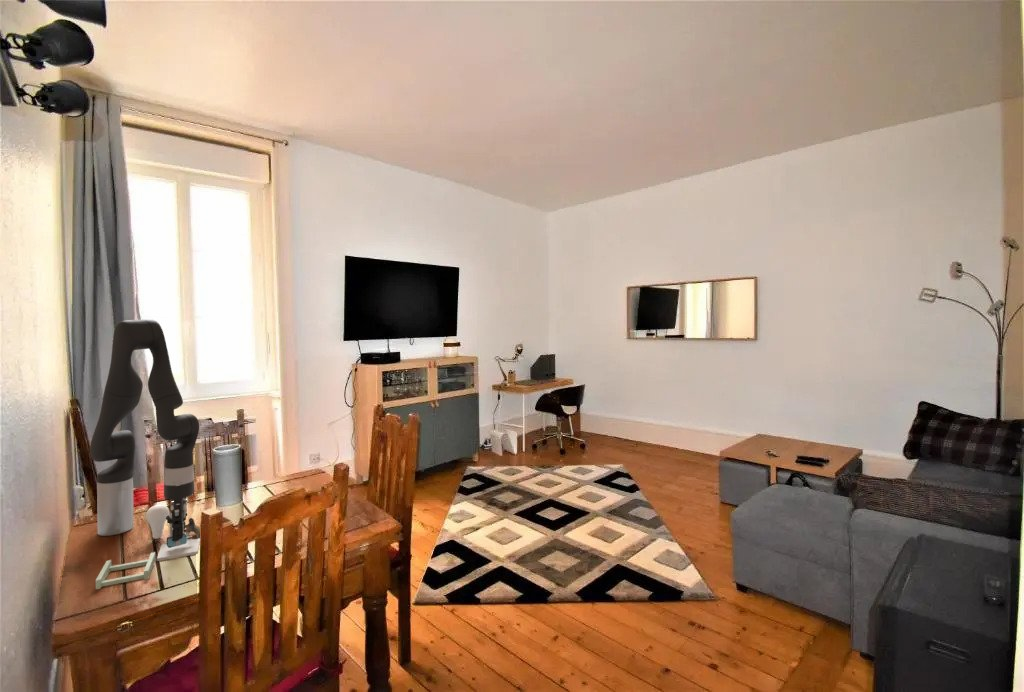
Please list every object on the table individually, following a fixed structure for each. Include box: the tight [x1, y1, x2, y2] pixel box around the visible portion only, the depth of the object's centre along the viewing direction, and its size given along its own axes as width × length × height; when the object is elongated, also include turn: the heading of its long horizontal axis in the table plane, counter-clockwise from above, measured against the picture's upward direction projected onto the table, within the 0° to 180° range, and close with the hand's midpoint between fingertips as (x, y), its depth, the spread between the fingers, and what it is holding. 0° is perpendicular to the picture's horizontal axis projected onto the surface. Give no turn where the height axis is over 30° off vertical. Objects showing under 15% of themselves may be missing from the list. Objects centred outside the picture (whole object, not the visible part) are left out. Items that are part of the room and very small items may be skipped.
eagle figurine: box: [184, 517, 200, 539], centre depth 155 cm, size 8×7×9 cm
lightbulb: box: [145, 504, 170, 540], centre depth 153 cm, size 6×6×11 cm
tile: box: [156, 538, 201, 562], centre depth 145 cm, size 10×10×1 cm
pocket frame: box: [95, 551, 156, 590], centre depth 131 cm, size 12×11×2 cm
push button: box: [166, 512, 193, 548], centre depth 145 cm, size 7×5×10 cm
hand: (179, 535), depth 145 cm, fingers closed on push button, 4 cm apart
